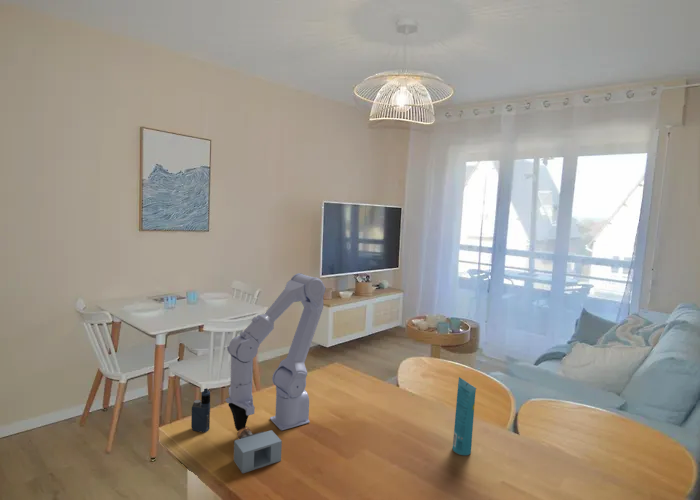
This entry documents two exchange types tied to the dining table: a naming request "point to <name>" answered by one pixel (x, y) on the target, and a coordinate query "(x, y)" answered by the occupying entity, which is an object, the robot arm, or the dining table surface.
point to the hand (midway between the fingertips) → (240, 429)
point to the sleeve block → (257, 451)
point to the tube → (464, 418)
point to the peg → (244, 432)
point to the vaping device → (201, 413)
